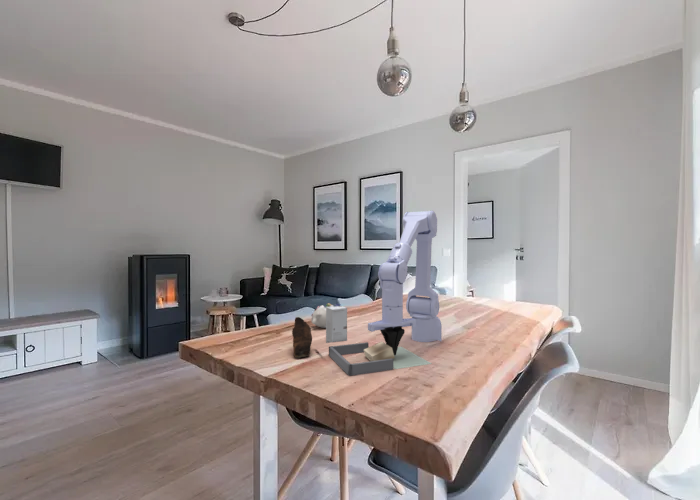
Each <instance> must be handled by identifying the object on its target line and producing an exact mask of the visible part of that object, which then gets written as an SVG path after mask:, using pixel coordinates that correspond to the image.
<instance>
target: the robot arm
mask: <svg viewBox="0 0 700 500" xmlns="http://www.w3.org/2000/svg"><path fill="white" fill-rule="evenodd" d="M402 226H403V230H402V233H401V235H400V239H399V242H396V243H394V244H393V247H392V249H391V251H390V253H389V255H388V258H387V259H386V261H385V262H383V263H381V264H380V265H379V268H378V272H377V276H378V280H379V287H380V289H381V319H380V320H376V321H373V322H368V323H367V331H369V332H373V333H374V332H375V331H380V333H381V334H382V336H383V338H384V341H385V342H384V343H385V344H387V345H389V346H390V347H392V350H393V353H394V355H396V353H397V349H398V347H399V344H400V342H401V340H402V338H403V336H404V335H405V332H406V331H405V329H404V327H406V328H407V327H411V340H412V341H415V342H419V343H429V342H434V341H439V342H442V336H443V335H442V334H443V332H442V329H443V328H442V325H443V324H442V322H441V319H440V318H439V316H438V315H439V311H440V302H439V294H438V293H437V292H436V291H435V290H434V289H433V288H431V275H432V272H431V271H432V270H431V269H432V246H433V243H432V242H433V238H436V236H437V232H438V218H437V214H436V213H435V211H434V210H423V211H406V212H405V213H404V214H403V217H402ZM415 240H416V256H415V258H416V259H415V285H414V288H412V289H411V290H410V291H408V293H407V298H406V299H407V300H406V303H405V308H406V312H407V314H408V315H409V317H411V318H404V317H403V314H404V311H403V310H404V307H403V305H404V288H403V287H404V283H405V282H406V280H407V277H408V268H409V267H408V264H409V262H410V258H411V256H412V254H413V249H412V246H413V244H414V242H415Z"/></svg>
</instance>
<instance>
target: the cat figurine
mask: <svg viewBox="0 0 700 500" xmlns="http://www.w3.org/2000/svg"><path fill="white" fill-rule="evenodd" d="M327 307H335V306H334V304H331V303H330V302H329V303H326V304H325V306H324V305H318V306H317V307H316V308H315V309H314V311H313V313H312V314H311V323H312V324H313V325H315V326H316V327H318V328H322V329H326V308H327Z"/></svg>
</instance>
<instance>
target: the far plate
mask: <svg viewBox="0 0 700 500" xmlns="http://www.w3.org/2000/svg"><path fill="white" fill-rule="evenodd" d="M394 357H395V358H393V370H398V369H406V368H411V367H419V366H427V365H432V362H430V361H428V360H426V359H425V358H423V357H421V356H419V355H418V354H415V353H414V352H412V351H410V350H408V349H406V348H405V347H403V346H398V349H397V353H396V355H394Z"/></svg>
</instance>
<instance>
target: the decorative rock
mask: <svg viewBox="0 0 700 500" xmlns="http://www.w3.org/2000/svg"><path fill="white" fill-rule="evenodd" d="M291 330H292V331H291V334H292V335H291V336H292V347H293V350H292V351H293V356H294V357H295V359H298V358H299V359H301V358H305V357H308V356H309V354H310V352H311V346H312V342H313V335H312V329H311V326H310V325H309V324H308V323H307V321H305V320H304V319H303V318H302V317H299V316H296V317H295V318H294V324H293V328H292V329H291Z"/></svg>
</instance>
